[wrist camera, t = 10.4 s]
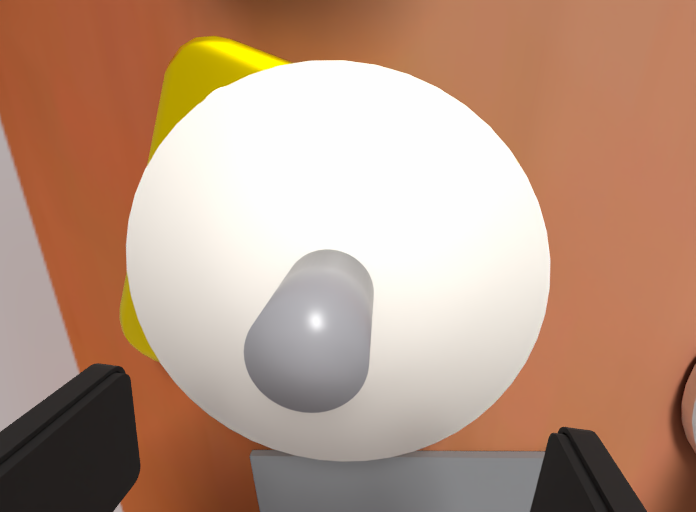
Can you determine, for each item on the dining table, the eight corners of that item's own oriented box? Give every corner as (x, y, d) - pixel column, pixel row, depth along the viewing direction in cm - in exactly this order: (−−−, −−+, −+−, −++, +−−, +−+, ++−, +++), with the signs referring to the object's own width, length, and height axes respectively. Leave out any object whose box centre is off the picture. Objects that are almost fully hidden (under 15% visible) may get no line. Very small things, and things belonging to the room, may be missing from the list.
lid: (526, 452, 18) (586, 588, 13) (177, 445, 20) (99, 563, 15) (562, 44, 13) (686, -17, 8) (95, 81, 15) (-70, 53, 10)
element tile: (157, 310, 23) (102, 352, 19) (218, 40, 19) (165, 11, 14) (395, 397, 24) (398, 460, 19) (512, 153, 19) (552, 160, 15)
